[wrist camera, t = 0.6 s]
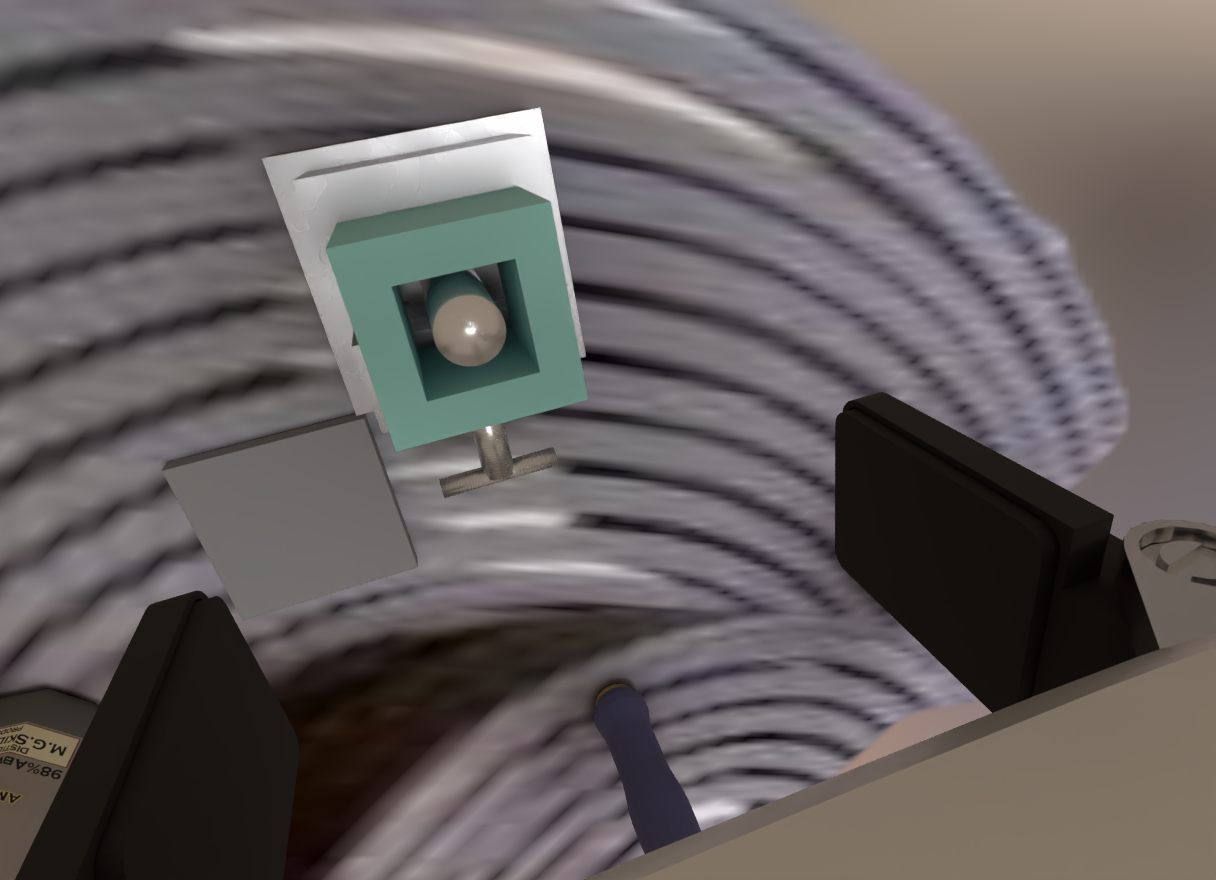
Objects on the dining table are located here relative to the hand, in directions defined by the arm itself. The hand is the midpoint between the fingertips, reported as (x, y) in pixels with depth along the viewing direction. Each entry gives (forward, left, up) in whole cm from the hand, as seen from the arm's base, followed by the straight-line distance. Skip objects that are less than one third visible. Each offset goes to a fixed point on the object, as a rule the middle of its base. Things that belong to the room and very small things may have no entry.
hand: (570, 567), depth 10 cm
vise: (-3, 0, -28) cm, 28 cm away
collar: (0, 0, -20) cm, 20 cm away
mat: (-12, +11, -28) cm, 33 cm away
